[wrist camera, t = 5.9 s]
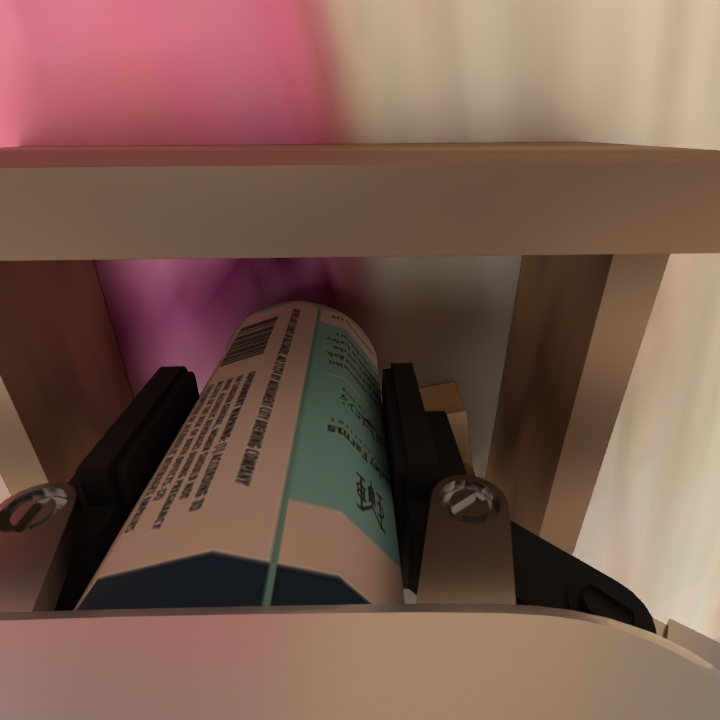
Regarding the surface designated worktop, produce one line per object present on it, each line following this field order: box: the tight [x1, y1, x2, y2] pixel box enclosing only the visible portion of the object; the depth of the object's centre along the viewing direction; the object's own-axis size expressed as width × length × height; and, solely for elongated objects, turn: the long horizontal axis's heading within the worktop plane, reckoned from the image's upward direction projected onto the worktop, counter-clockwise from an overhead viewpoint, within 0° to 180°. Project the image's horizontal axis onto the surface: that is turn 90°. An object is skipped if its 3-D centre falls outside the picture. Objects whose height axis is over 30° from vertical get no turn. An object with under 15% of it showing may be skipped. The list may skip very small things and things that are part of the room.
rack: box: [0, 142, 720, 555], centre depth 13 cm, size 14×16×8 cm
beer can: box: [74, 301, 405, 610], centre depth 9 cm, size 5×5×12 cm
